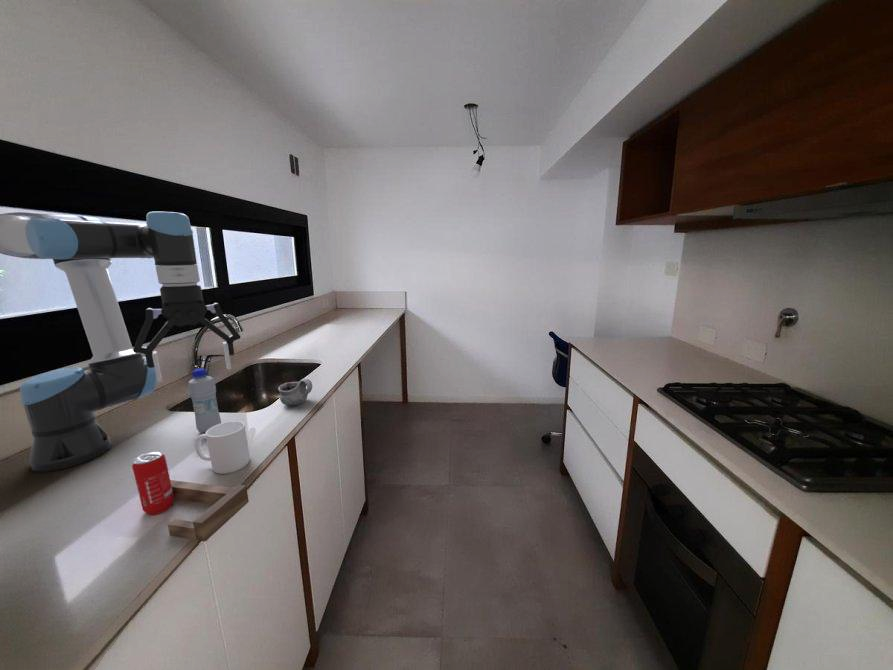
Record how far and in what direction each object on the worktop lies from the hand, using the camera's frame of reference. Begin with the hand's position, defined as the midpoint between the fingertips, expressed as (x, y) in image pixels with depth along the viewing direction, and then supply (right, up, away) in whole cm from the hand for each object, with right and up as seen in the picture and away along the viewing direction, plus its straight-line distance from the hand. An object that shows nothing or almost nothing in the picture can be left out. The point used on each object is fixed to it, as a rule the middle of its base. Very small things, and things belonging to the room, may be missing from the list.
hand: (196, 374), depth 84 cm
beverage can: (-1, -27, -9) cm, 29 cm away
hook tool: (+6, -28, -11) cm, 31 cm away
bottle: (-12, -20, +24) cm, 34 cm away
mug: (+7, -16, +43) cm, 46 cm away
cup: (+3, -24, +6) cm, 25 cm away
